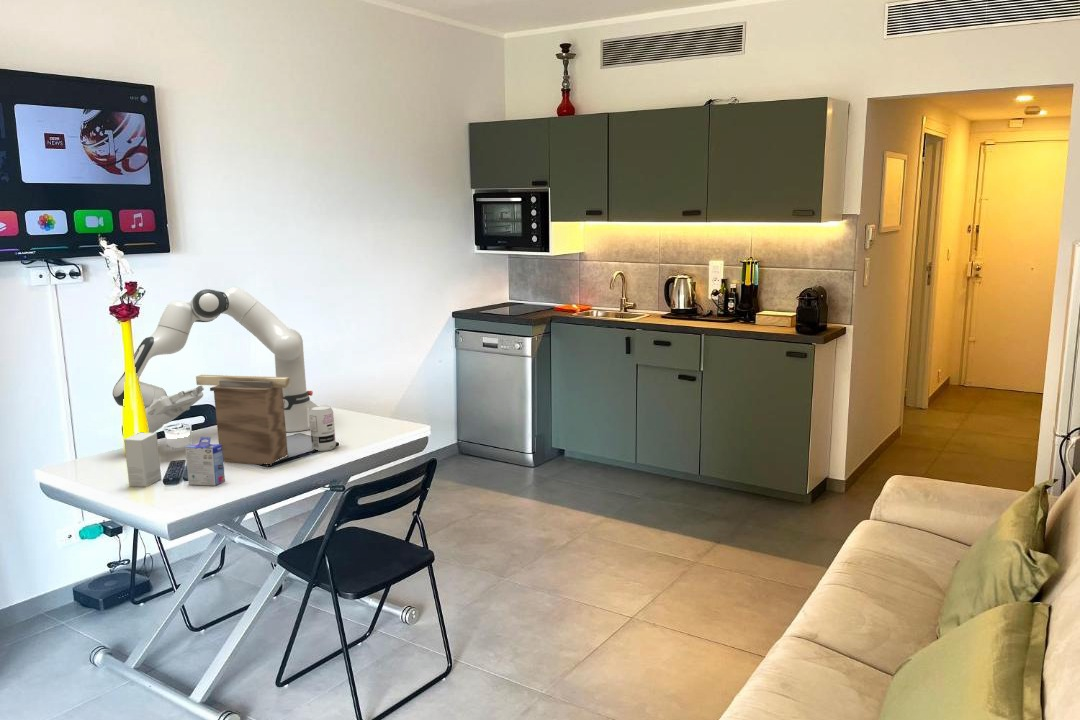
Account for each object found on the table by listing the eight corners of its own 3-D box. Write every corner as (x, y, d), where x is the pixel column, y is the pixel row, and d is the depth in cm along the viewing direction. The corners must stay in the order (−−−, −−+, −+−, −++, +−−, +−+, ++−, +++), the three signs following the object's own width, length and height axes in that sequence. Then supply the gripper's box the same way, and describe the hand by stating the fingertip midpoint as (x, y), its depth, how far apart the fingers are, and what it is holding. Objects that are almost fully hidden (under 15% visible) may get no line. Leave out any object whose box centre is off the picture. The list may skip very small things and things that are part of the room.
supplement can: (317, 445, 305) (314, 405, 302) (339, 445, 304) (336, 405, 301) (308, 451, 297) (305, 410, 294) (331, 451, 296) (328, 410, 293)
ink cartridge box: (226, 480, 266) (222, 436, 263) (216, 486, 260) (211, 441, 258) (198, 479, 268) (194, 435, 265) (188, 485, 262) (183, 440, 260)
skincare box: (144, 478, 271) (139, 431, 268) (163, 479, 270) (158, 432, 267) (128, 486, 263) (122, 438, 260) (147, 487, 261) (141, 439, 259)
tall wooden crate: (237, 453, 297) (230, 376, 293) (291, 456, 291) (284, 377, 286) (217, 462, 287) (209, 382, 282) (272, 465, 281) (265, 383, 276)
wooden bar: (202, 383, 292) (201, 374, 291) (290, 386, 282) (289, 377, 281) (196, 384, 289) (195, 376, 288) (285, 387, 279) (284, 379, 278)
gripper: (140, 407, 286) (167, 388, 282) (181, 394, 306) (207, 376, 301) (149, 423, 286) (176, 404, 282) (190, 409, 306) (216, 392, 301)
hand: (192, 390), depth 292 cm, fingers open, 8 cm apart
